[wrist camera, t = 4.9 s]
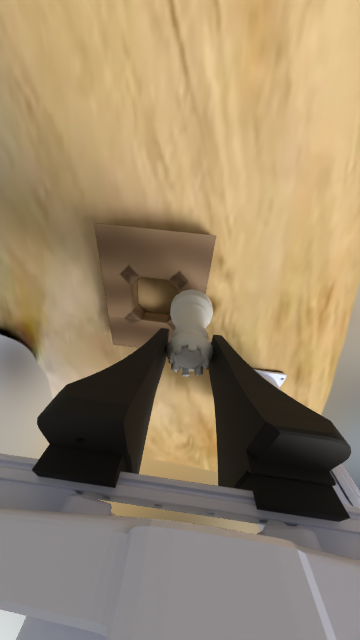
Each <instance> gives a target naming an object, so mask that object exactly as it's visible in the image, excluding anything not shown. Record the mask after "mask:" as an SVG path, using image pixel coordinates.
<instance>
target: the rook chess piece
mask: <svg viewBox="0 0 360 640" xmlns="http://www.w3.org/2000/svg"><path fill="white" fill-rule="evenodd" d="M212 310H213V308H212V302H211V301H210V299H209V298H208V296H207V295H205V294H204V293H202V292H201V291H197V290H192V289H191V290H186V291H182V292H181V293H179V294H178V295H176V296H175V298H174V299H173V301H172V303H171V310H170V315H171V319H172V322H173V323H174V325H175V326H176V329H175V330H174V332H173V333H172V338H171V339H170V341H169V342H168V343H167V345H166V355H167V357H168V359H169V363H172V364H171V369H172V370H173V371H174V372H175V373H176V372H177V371H178V369H181V370H182V376H186V377H189V371H195V375H196V376H198V375H201V374H203V368H204V369H208V366H209V362H210V361H211V360H212V357H213V354H214V351H213V346H212V344H211V343H210V342H209V341H208V340H209V338H208V333H207V332H206V331H205V328H206V326H207V325H208V324H209V323H210V321H211V318H212V315H213V311H212Z"/></svg>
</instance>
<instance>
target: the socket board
mask: <svg viewBox="0 0 360 640" xmlns="http://www.w3.org/2000/svg"><path fill="white" fill-rule="evenodd" d="M94 225H95V232H96V238H97V245H98V251H99V257H100V264H101V270H102V277H103V283H104V289H105V296H106V302H107V309H108V315H109V321H110V328H111V334H112V341H113V344H114V345H122V346H130V347H138V348H140V347H141V346H142V345H144V344H145V343H146V342H147V341H148V340H149V339H150V338H151V337H152V336H153V335H154V334H155V333H156V332H157V331H158V330H159V329H160V328H166V329H169V338H168V342H169V341H170V339H171V338H172V333H173V332H174V330H175V329H176V326H175V325H174V323H173V322H172V319H171V315H170V314H169V315H168V314H160V313H151V312H146V311H145V310H144V309H143V308H142V307H141V306H140V305H139V304H138V282H137V280H138V279H139V278H140V277H149V278H157V279H166V280H169V281H170V282H171V283H172V284H173V285H174V287H175V288H176V289H177V290H178V294H179V293H181V292H182V291H186V290H191V289H192V290H197V291H201V292H202V293H204V294H206V289H207V283H208V278H209V272H210V267H211V261H212V256H213V251H214V245H215V240H216V236H215V235H205V234H196V233H186V232H177V231H167V230H158V229H148V228H139V227H129V226H120V225H111V224H101V223H94Z"/></svg>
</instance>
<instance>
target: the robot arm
mask: <svg viewBox="0 0 360 640" xmlns="http://www.w3.org/2000/svg"><path fill="white" fill-rule="evenodd" d="M168 338H169V329H166V328H160V329H159V330H158V331H157V332H156V333H155V334H154V335H153V336H152V337H151V338H150V339H149V340H148V341H147V342H146V343H145V344H144V345H142V346H141V347H140V348H139V349H137V350H136V351H135V352H133V353H132V354H131V355H129V356H128V357H126V358H124V359H123V360H121V361H119V362H117V363H116V364H114V365H112V366H110V367H108V368H106V369H104V370H102V371H100V372H98V373H95V374H93V375H91V376H88V377H86V378H83V379H81V380H78V381H75V382H73V383H70V384H67V385H66V386H65V387H64V388H63V389H62V390H61V391H60V392H59V393H58V394H57V396H56V397H55V398H54V399H53V400H52V401H51V403H50V404H49V405H48V406H47V407H46V408H45V410H44V411H43V412H42V413H41V414H40V415H39V417H38V419H37V425H38V427H39V429H40V431H41V432H42V433H43V435H44V436H45V438H46V439H47V441H48V442H49V444H50V445H49V446H48V448H47V449H46V450H45V452H44V453H43V455H42V456H41V458H40V459H33V458H27V457H20V456H13V455H7V454H0V609H1V610H5V611H9V612H14V613H18V614H22V615H26V619H25V621H24V623H23V625H22V628H21V630H20V632H19V634H18V637H17V639H16V640H360V491H359V490H358V488H357V487H356V485H355V483H354V482H353V480H352V479H351V477H350V476H349V474H348V473H347V471H346V470H345V468H344V467H343V465H342V464H341V463H343V462H344V461H345V460H347V459H348V458H349V456H350V454H351V448H350V446H349V444H348V443H347V442H346V440H345V439H344V438H343V437H342V435H341V434H340V433H339V431H338V430H337V429H336V427H335V426H334V425H333V423H332V422H331V421H330V420H328V419H326V418H324V417H323V416H321V415H319V414H318V413H316V412H314V411H312V410H311V409H309V408H307V407H306V406H304V405H302V404H301V403H299V402H297V401H296V400H294V399H293V398H291V397H290V396H288V395H287V394H285V393H284V392H282V391H281V389H280V386H281V385H282V383H283V382H284V380H285V378H286V377H287V376H286V374H285V373H278V372H270V371H262V370H255V369H253V368H251V367H250V366H249V365H248V364H247V363H246V362H245V361H244V360H243V359H242V358H241V357H240V356H239V355H238V354H237V353H236V352H235V350H234V349H233V348H232V347H231V346H230V345H229V344H228V342H227V341H226V340H225V339H224V338H223V337H222V336H220V335H213V338H212V342H211V344H212V346H213V351H214V354H213V357H212V360H211V361H210V362H209V366H208V368H209V374H210V380H211V385H212V391H213V397H214V404H215V417H216V433H217V454H218V486H215V485H208V484H201V483H195V482H188V481H180V480H174V479H168V478H160V477H154V476H148V475H141V474H139V470H140V465H141V460H142V455H143V450H144V445H145V440H146V435H147V430H148V425H149V421H150V416H151V411H152V407H153V402H154V397H155V393H156V390H157V387H158V383H159V380H160V377H161V374H162V371H163V368H164V365H165V361H166V356H167V355H166V345H167V343H168ZM97 499H99V500H97ZM348 499H349V500H348ZM100 500H105V501H112V502H118V503H125V504H131V505H138V506H144V507H152V508H158V509H165V510H171V511H178V512H184V513H191V514H197V515H204V516H210V517H217V518H223V519H229V520H236V521H242V522H249V523H256V524H258V525H259V528H260V531H261V532H260V533H258V534H250V533H245V532H240V531H235V530H229V529H224V528H218V527H212V526H206V525H199V524H193V523H185V522H177V521H169V520H159V519H149V518H137V517H123V516H116V515H114V514H113V513H112V512H111V508H112V507H111V504H110V503H107V502H104V501H100ZM349 501H350V502H351V504H352V505H351V504H350V502H349Z"/></svg>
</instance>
